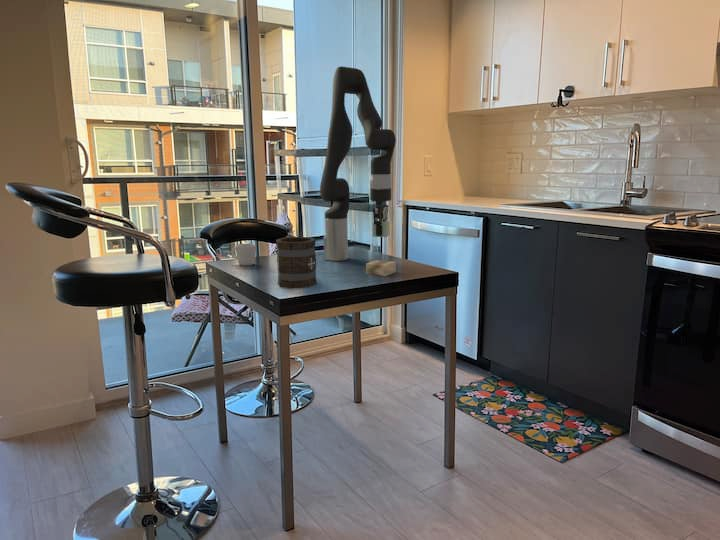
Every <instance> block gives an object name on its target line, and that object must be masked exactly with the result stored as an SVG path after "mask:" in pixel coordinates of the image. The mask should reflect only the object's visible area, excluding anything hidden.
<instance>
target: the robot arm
mask: <svg viewBox="0 0 720 540" xmlns="http://www.w3.org/2000/svg"><path fill="white" fill-rule="evenodd" d="M346 94H349V95H356V97H357V98H358V100H359V101H358V104H357V106H356V114H357V117H358V120H359V122H360V124H361V126H362V129H363V134H364V141H365V145H366V147H367V148H368V149H369V150H373V151H381V152H380V154H379V155H378V156H376V157H375V156H374V157H372V158H371V159H370V181H369V184H370V186H369V188H370V189H369V190H370V193H369V195H370V196H369V197H370V198H369V199H370V201H372V202H375V205H374V207H373V208H372V215H373V216H372V217H373V222H374V224H375V225H376V236H382V225H383V221H388V219H389V204H387V202H391V201H392V175H391V174H392V171H391V168H392V167H391V165H392V159H393V154H394V150H395V146H396V141H397V138H396V135H395V132H394V131H393V130H392V129H388V128H382V127H383V121H382V118H381V116H380V114H379V113H378V110H377V108H376V106H375V104H374V101H373V99H372V95H371V91H370V88H369V85H368V81H367V78H366V76H365V73H364V72H363V71H362V70H361V69H358V68H356V67H350V66H349V67H347V66H338V67H336V69H335V71H334V75H333V79H332V95H331V96H332V98H331V113H330V122H329V129H328V134H327V135H328V136H327V146H326V154H325V160H324V166H323V171H322V176H321V179H320V185H319V186H320V187H319V194H320V197H321V199H322V201H324V202H328V203H329V202H332V205H331V206H330V207H329V208H328V209H326V210H325V212H324V230H325V231H324V235H325V236H323V260H327V261H332V262H333V261H334V262H335V261H336V262H337V261H339V262H341V261H347V260H348V259H349V243H348V239H349V238H348V235H349V234H348V233H349V232H348V229H349V227H348V213H349V211H350V186H349V183H348V181H347V180H346V179H345V178H342V177H338V171H339V168H340V166H341V164H342V163H343V161H344V160H345V158H346V156H347V155H348V153H349V152H350V149H351V147H352V139H353V132H354V131H353V125H352V123H351V120H350V118H349V115H348V113H347V110H346V106H345V103H346V102H345V99H346V98H345V97H346Z"/></svg>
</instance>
